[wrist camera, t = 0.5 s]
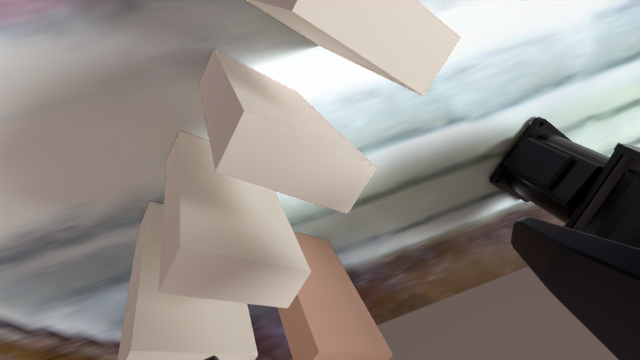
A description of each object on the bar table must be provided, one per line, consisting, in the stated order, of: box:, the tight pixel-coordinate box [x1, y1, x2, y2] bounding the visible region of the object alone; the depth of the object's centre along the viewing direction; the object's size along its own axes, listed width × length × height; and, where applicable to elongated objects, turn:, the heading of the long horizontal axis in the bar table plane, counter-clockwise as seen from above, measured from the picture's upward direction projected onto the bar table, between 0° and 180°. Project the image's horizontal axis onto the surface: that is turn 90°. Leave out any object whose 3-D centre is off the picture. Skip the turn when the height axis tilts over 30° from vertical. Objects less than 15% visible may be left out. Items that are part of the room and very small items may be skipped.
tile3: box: [199, 49, 377, 214], centre depth 15 cm, size 2×5×10 cm, turn 59°
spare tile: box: [278, 232, 393, 360], centre depth 22 cm, size 2×5×10 cm, turn 59°
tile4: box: [158, 131, 311, 308], centre depth 16 cm, size 2×5×10 cm, turn 59°
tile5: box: [118, 201, 258, 360], centre depth 18 cm, size 2×5×10 cm, turn 59°
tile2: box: [246, 0, 461, 96], centre depth 13 cm, size 2×5×10 cm, turn 60°
